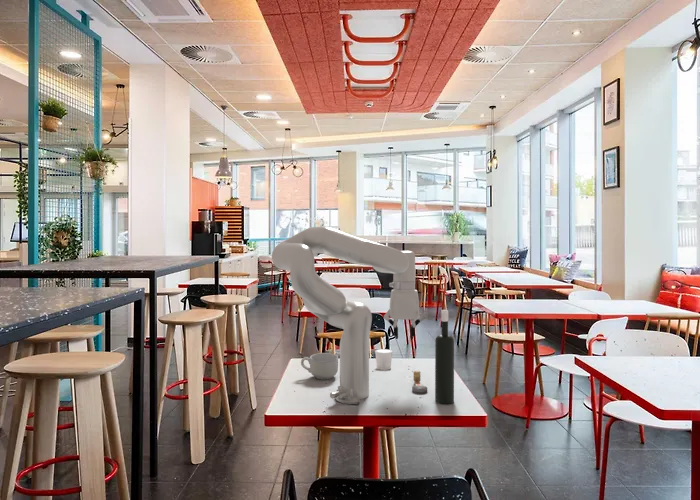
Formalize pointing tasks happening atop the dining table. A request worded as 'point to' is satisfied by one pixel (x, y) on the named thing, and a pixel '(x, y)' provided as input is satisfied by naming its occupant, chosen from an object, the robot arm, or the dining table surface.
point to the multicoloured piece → (418, 384)
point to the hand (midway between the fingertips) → (404, 337)
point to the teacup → (322, 365)
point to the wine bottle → (444, 364)
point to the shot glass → (383, 359)
